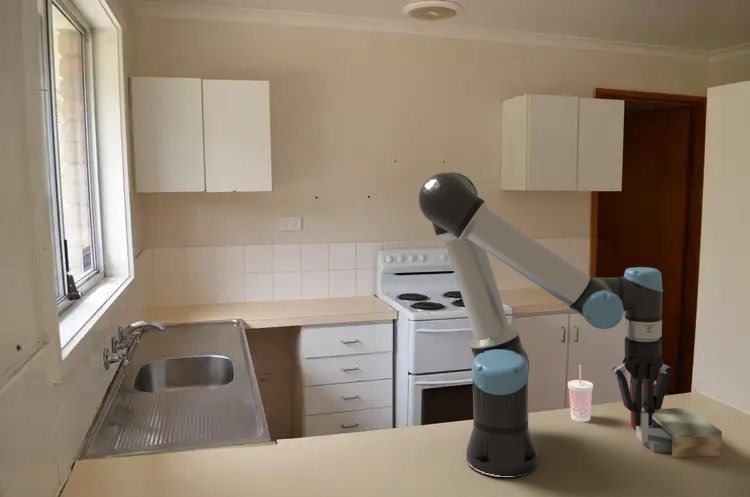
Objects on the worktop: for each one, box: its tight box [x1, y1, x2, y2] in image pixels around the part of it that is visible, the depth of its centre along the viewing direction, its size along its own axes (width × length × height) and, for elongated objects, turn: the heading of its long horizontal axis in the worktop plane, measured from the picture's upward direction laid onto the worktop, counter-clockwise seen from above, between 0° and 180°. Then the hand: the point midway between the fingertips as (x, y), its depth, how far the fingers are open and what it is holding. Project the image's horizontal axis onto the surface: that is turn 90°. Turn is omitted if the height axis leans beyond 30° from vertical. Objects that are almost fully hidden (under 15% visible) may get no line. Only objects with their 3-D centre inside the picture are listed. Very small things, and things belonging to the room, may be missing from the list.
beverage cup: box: [567, 364, 594, 423], centre depth 148 cm, size 6×6×14 cm
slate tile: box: [642, 428, 672, 454], centre depth 133 cm, size 10×8×2 cm
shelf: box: [652, 407, 723, 458], centre depth 133 cm, size 10×13×6 cm
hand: (642, 438), depth 133 cm, fingers closed
